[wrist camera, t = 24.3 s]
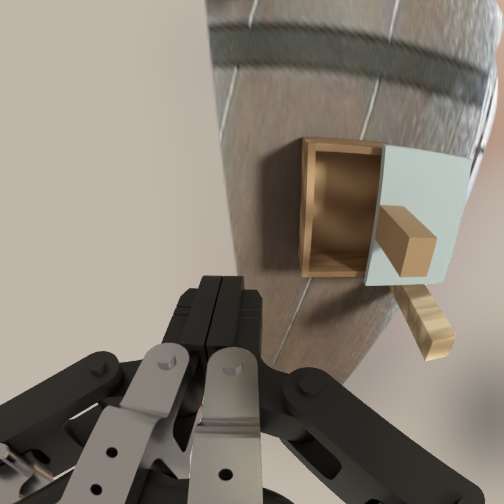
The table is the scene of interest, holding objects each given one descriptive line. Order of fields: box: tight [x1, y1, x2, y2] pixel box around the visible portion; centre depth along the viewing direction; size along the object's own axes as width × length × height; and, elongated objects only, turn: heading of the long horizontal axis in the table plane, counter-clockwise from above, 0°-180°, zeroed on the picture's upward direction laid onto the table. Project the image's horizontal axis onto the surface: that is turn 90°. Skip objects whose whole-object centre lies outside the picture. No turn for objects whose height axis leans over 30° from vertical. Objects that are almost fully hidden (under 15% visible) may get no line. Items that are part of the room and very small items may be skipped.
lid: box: [364, 144, 472, 286], centre depth 26 cm, size 17×12×9 cm
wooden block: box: [389, 284, 456, 361], centre depth 34 cm, size 4×4×16 cm
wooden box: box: [298, 137, 390, 277], centre depth 34 cm, size 16×18×6 cm
